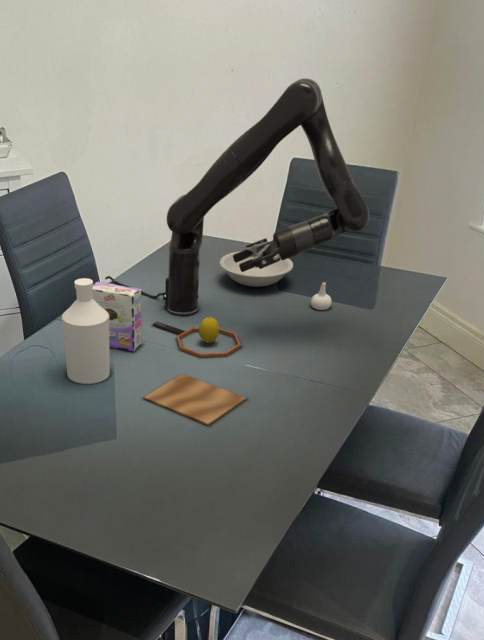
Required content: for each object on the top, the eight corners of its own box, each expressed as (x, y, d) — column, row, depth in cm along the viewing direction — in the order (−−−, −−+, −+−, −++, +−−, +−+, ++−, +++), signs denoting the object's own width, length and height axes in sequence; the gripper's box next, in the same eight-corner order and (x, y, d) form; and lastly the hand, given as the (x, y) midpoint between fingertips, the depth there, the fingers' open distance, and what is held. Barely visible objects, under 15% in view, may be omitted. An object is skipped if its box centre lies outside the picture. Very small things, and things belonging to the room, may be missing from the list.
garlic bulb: (329, 303, 233) (333, 278, 228) (331, 311, 228) (335, 286, 223) (309, 302, 233) (313, 277, 228) (311, 310, 228) (314, 285, 223)
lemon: (216, 348, 208) (218, 321, 203) (197, 346, 209) (198, 320, 204) (219, 340, 212) (220, 313, 207) (200, 338, 213) (201, 312, 208)
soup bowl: (241, 264, 259) (242, 245, 255) (303, 279, 248) (306, 259, 244) (204, 285, 244) (205, 265, 240) (269, 302, 233) (271, 282, 229)
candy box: (142, 344, 210) (142, 288, 200) (133, 352, 206) (133, 295, 196) (99, 335, 215) (97, 280, 204) (90, 343, 211) (87, 287, 200)
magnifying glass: (136, 334, 215) (136, 331, 215) (172, 315, 226) (172, 312, 225) (215, 363, 201) (215, 359, 200) (250, 341, 211) (250, 338, 211)
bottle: (60, 367, 199) (53, 277, 183) (101, 359, 203) (97, 270, 187) (74, 387, 190) (68, 294, 175) (117, 379, 194) (115, 286, 178)
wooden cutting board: (143, 399, 186) (143, 396, 186) (182, 375, 196) (182, 373, 195) (208, 425, 176) (208, 423, 176) (245, 399, 186) (245, 397, 185)
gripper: (283, 220, 202) (227, 243, 204) (298, 234, 190) (238, 258, 192) (290, 246, 206) (235, 268, 208) (304, 261, 195) (246, 284, 196)
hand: (236, 263), depth 200 cm, fingers open, 8 cm apart
